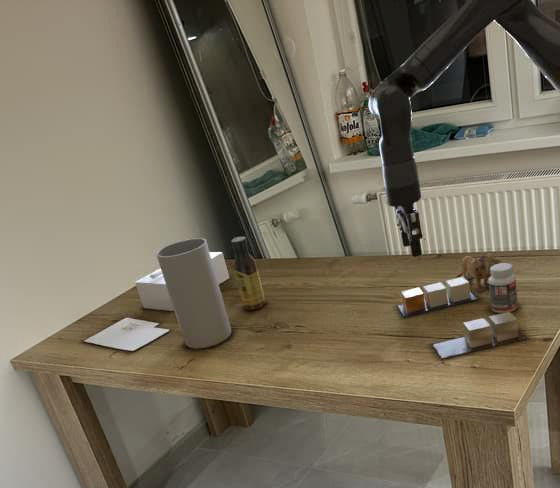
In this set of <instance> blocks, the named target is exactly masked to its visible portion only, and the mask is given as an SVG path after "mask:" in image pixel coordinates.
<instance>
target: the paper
mask: <svg viewBox="0 0 560 488" xmlns="http://www.w3.org/2000/svg"><path fill="white" fill-rule="evenodd" d="M158 325H160V322H159V323H158V322H153V321H148V320H143V319H138V318H137V319H136V318H132V317H125V318H123V319H121V320H119V321H116V323H114V324H112V325H109V326H108V327H107V328H105V329H102V330H101V331H100V332H97V333H96V334H93V335H92V336H90V337H88V338H86V339H84V340H83V342H85V343H90V344H95V345H100V346H104V347H107V348H108V347H109V348H113V349H119V350H124V351H131V352H133V351H136V350H137V349H139V348H141V347H143V346H145V345H147V344H149V343H150V342H151V343H152V341H154V340H156V339H157V338H159V337H162V336H163V335H164V334H166V333H168V332H169V331H170V329H167V328H162V327H157V326H158Z"/></svg>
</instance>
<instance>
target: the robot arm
mask: <svg viewBox="0 0 560 488" xmlns="http://www.w3.org/2000/svg"><path fill="white" fill-rule="evenodd" d="M493 22H495V23H496V24H497V25H498V26H499V27H501V29H503V30H504V31H505V32H506V33H507V34H508V35H509V36H510V37H511V38H512V39H513V40H514V41H515V42H516V43H517V45H518V46H519V47H520V48H521V50H522V51H523V52H524V53H525V55H526V56H527V57H528V58H529V60H531V62H532V63H533V64H534V65H535V66H536V67H537V69H538V70H539V71H540V73H541V74H542V75H543V77H545V79H546V80H547V81H548V82H549V83H550V84H551V86H552V87H553V88H554V90H556V91H557V92H558V93H559V94H560V22H558V21H556V20H554V19H552V17H549V16H548V15H547V14H545V13H544V12H543V11H542V10H541V9H540V8H538V6H537V5H536V4H535V3H534V1H533V0H467V1H466V2H465V3H464V4H463V5H462V6H461V7H460V8H459V9H458V10H457V11H456V12H455V13H454V14H453V15H451V17H450V18H448V20H447V21H446V22H445V23H443V24H442V25H441V26H440V27H439V28H438V29H437V30H436V31H434V32H433V33H432V34H431V35H430V36H429V37H428V38H427V39H426V40H424V42H423V43H422V44H421V45H420V46H419V47H418V48H417V49H416V50H414V52H413V53H412V54H411V55H410V56H409V58H407V60H405V62H404V63H403V64H402V65H400V67H398V68H397V69H395V70H394V71H393V72H392V73H391V74H389V75H388V76H387V77H386V78H385V79H383V80H382V81H381V82H380V83H379V84H378V85H377V86H376V87H375V88H374V89H373V90H372V92H371V94H369V95H370V96H369V98H368V103H367V104H368V110H369V112H370V114H371V115H372V116H373V117H374V118H375V119H377V120H379V121H380V124H379V125H380V132H381V136H380V138H379V140H378V148H379V154H380V160H381V161H380V162H381V168H382V169H381V170H382V179H383V185H384V190H385V197H386V203H387V206H389V207H393V208H394V213H395V220H396V226H397V227H398V230H399V231H400V236H401V241H402V246H403V247H404V248H407V247H410V253H411V256H412V257H413V258H416V257H421V256H422V254H423V251H422V245H421V239H423V236H424V235H423V232H422V225H421V221H420V213H419V211H417V208H416V209H415V208H414V204H415V203H418V202H419V201H420V200H421V198H422V191H421V184H420V179H419V178H420V177H419V171H418V166H417V163H416V159H415V153H414V152H415V151H414V146H413V140H412V116H413V115H412V114H413V113H412V104H411V100H410V99H412V97H414V96H415V95H416V94H418V93H419V92H422V91H424V90H426V89H427V88H429V87H430V86H431V85H432V84H433V83H434V82H435V81H436V80H437V79H438V78H439V77H440V76H441V75H443V73H444V72H445V71H446V70H447V69H448V68H449V66H450V65H451V64H452V63H454V61H455V60H456V59H457V58H458V57H459V56H460V55H461V54H462V52H464V50H465V49H466V48H467V47H468V46H469V45H470V44H471V43H472V42H473V41H474V40H475V39H476V38H477V37H478V36H479V35H480V34H481V33H482V32H483V31H484V30H485V29H487V27H489V25H491V24H492V23H493ZM413 232H415V234H413Z"/></svg>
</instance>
